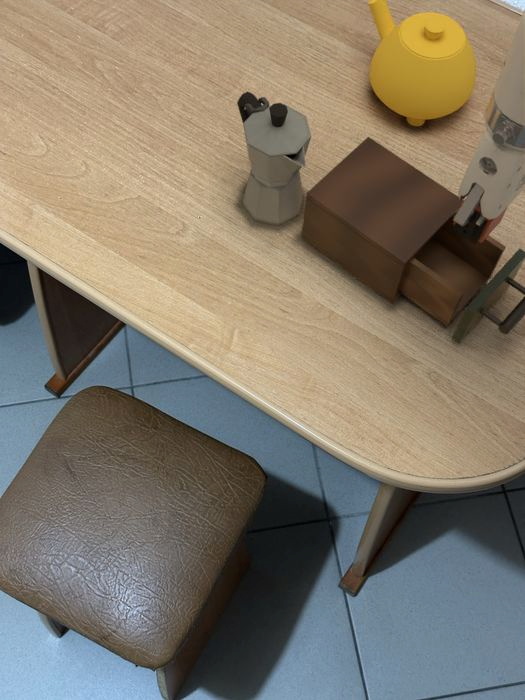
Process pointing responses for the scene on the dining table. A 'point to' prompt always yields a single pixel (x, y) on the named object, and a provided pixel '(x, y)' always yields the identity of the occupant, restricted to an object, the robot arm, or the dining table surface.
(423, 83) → the teapot
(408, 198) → the cabinet
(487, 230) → the block
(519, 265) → the drawer
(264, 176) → the coffee maker
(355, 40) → the dining table surface
